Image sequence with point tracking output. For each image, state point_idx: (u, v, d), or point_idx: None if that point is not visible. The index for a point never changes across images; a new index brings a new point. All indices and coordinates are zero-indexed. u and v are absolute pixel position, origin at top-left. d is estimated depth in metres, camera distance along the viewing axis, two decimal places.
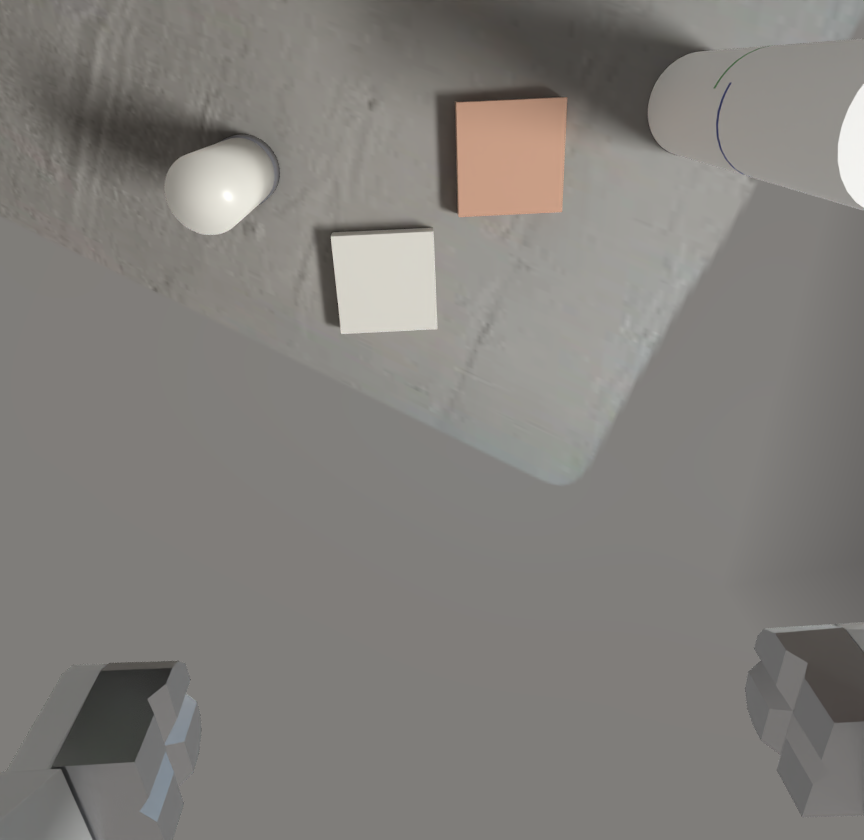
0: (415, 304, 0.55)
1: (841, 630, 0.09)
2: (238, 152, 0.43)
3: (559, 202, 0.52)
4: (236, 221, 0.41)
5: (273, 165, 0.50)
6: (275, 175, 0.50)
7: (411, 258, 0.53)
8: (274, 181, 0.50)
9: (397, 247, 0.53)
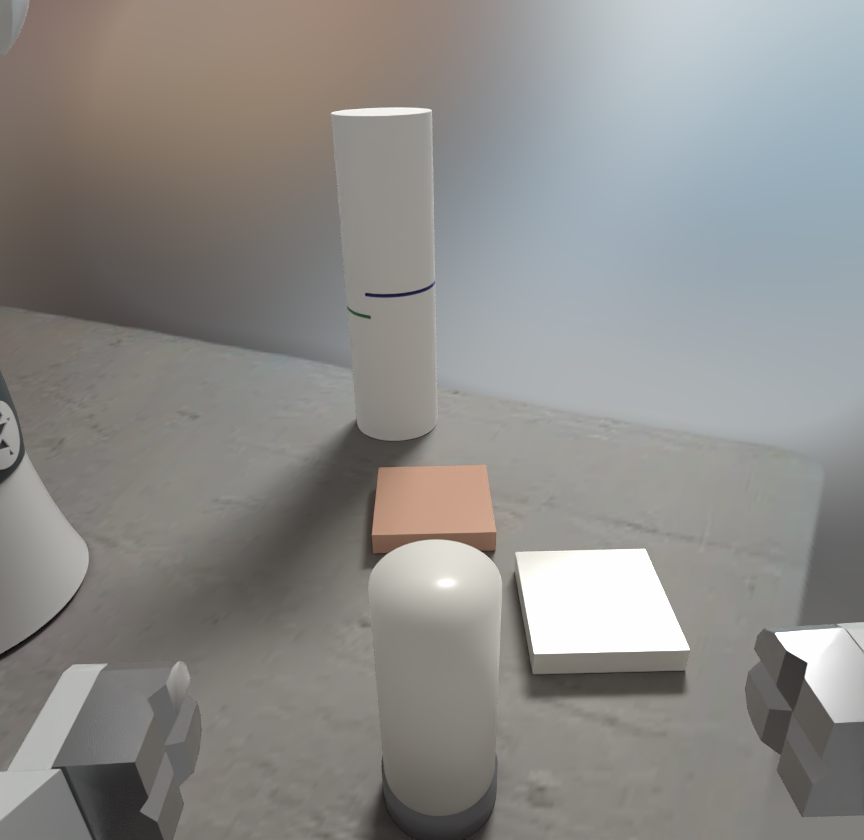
0: (616, 568, 0.40)
1: (841, 630, 0.09)
2: None
3: (476, 466, 0.50)
4: (477, 551, 0.26)
5: None
6: None
7: (553, 571, 0.40)
8: None
9: (540, 583, 0.39)
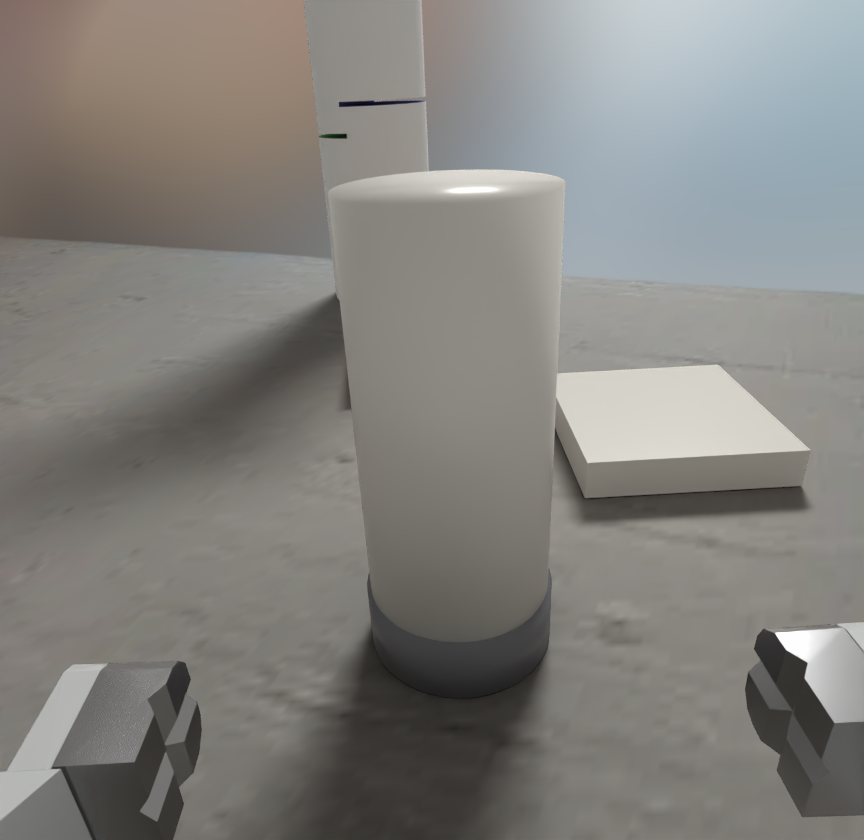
0: (684, 382, 0.30)
1: (841, 630, 0.09)
2: None
3: None
4: (515, 171, 0.15)
5: None
6: None
7: (599, 387, 0.29)
8: None
9: (583, 399, 0.29)
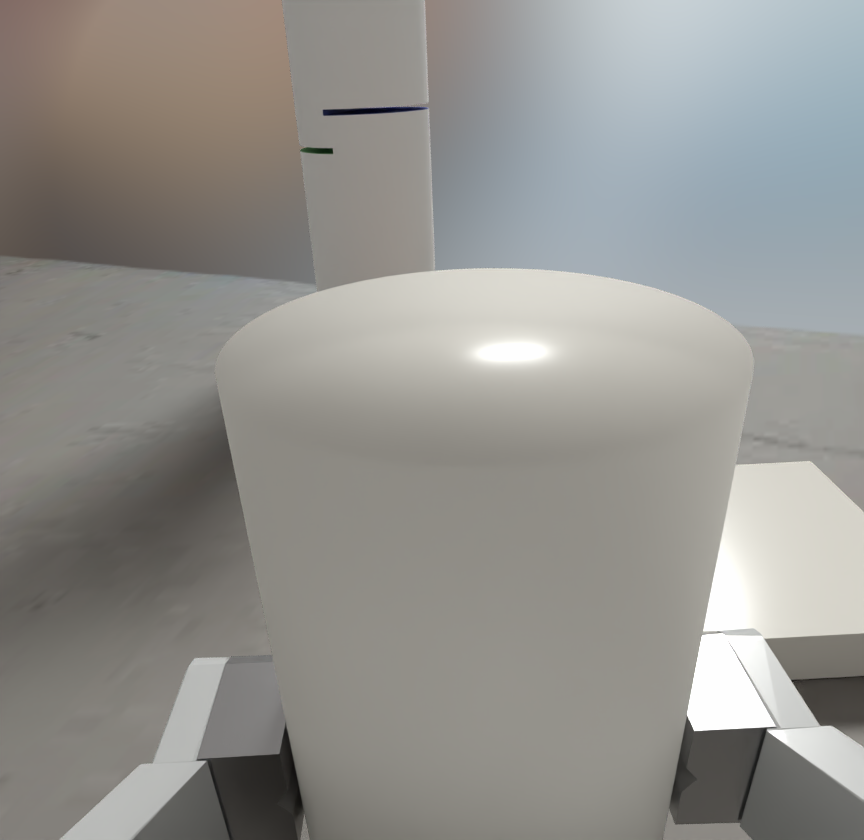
0: (772, 491, 0.22)
1: (720, 637, 0.09)
2: None
3: None
4: (607, 280, 0.08)
5: None
6: None
7: None
8: None
9: None
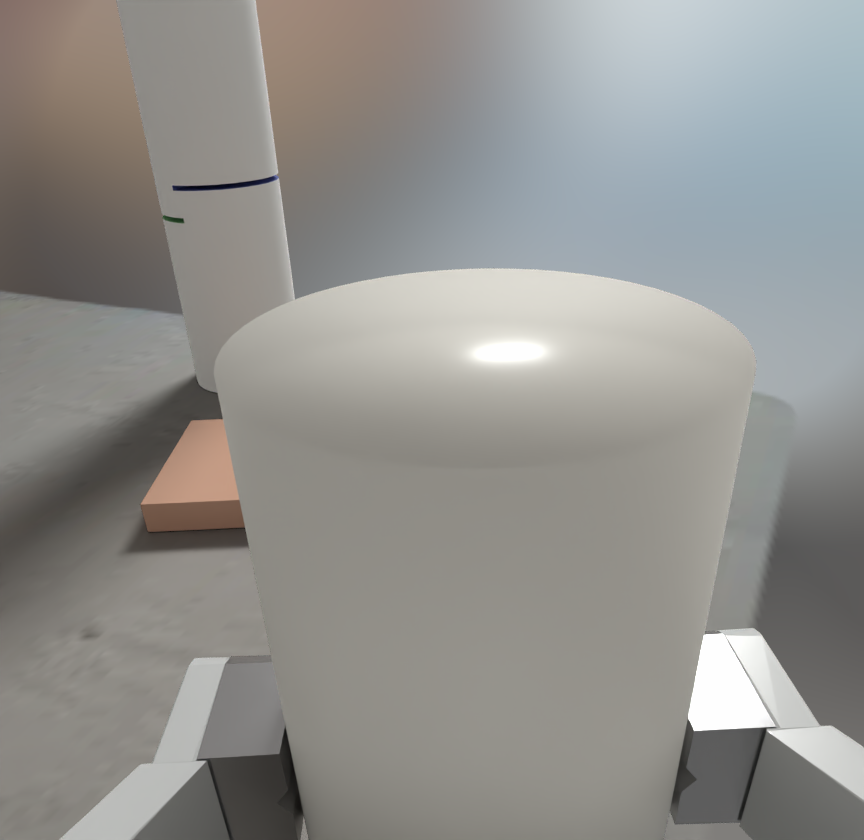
0: None
1: (720, 636, 0.09)
2: None
3: None
4: (608, 280, 0.08)
5: None
6: None
7: None
8: None
9: None
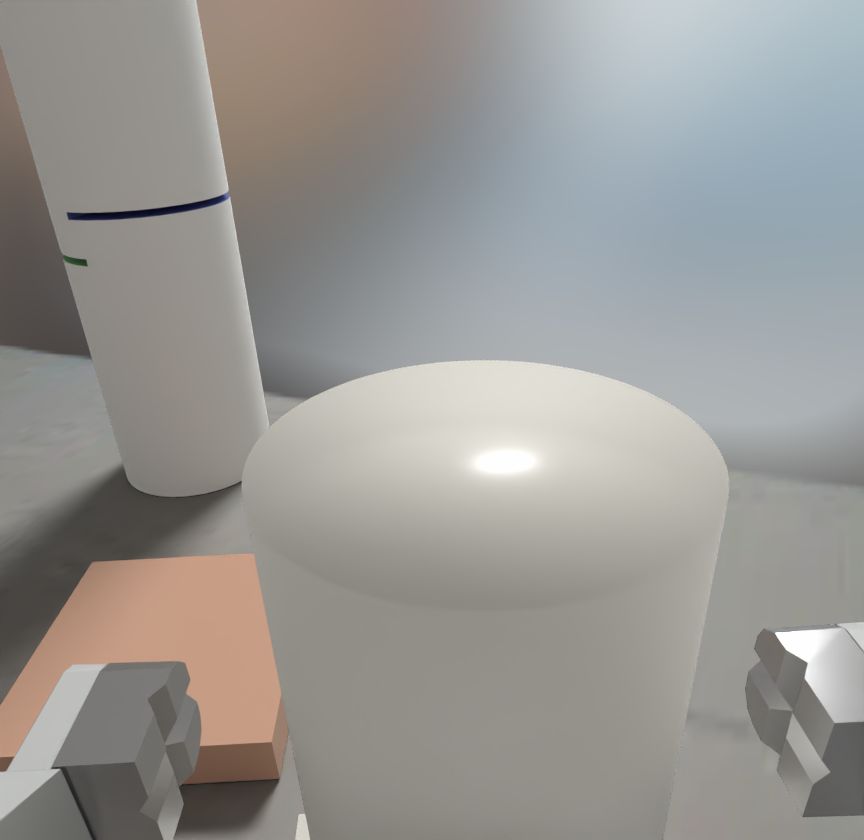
0: None
1: (841, 630, 0.09)
2: None
3: None
4: (599, 378, 0.08)
5: None
6: None
7: None
8: None
9: None
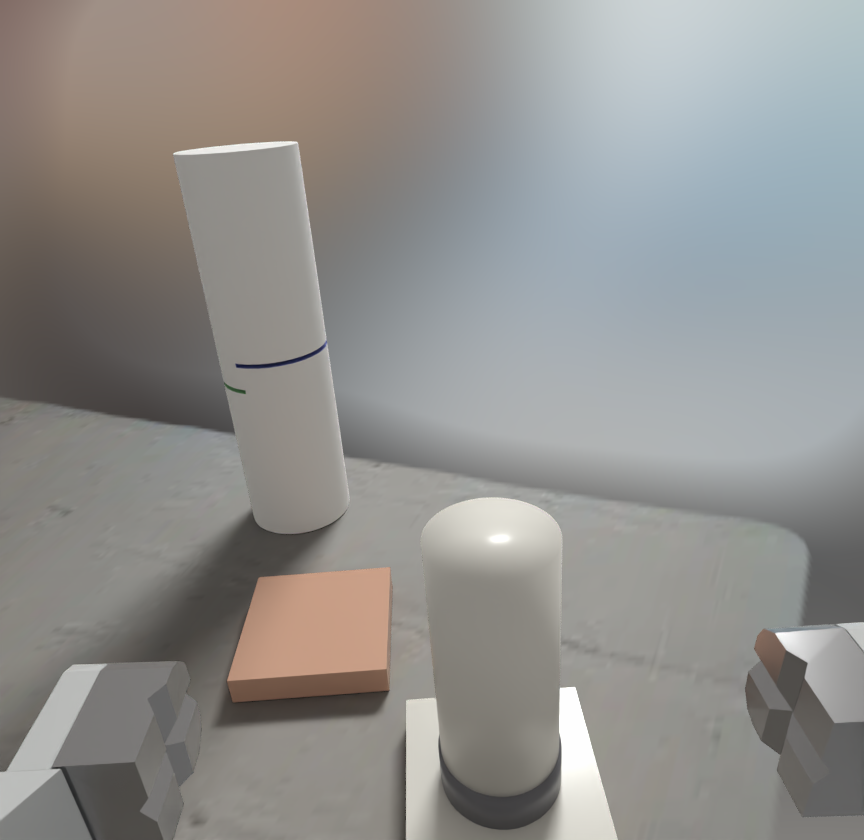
0: None
1: (841, 630, 0.09)
2: None
3: (378, 570, 0.41)
4: (531, 506, 0.24)
5: None
6: None
7: None
8: None
9: (431, 751, 0.29)
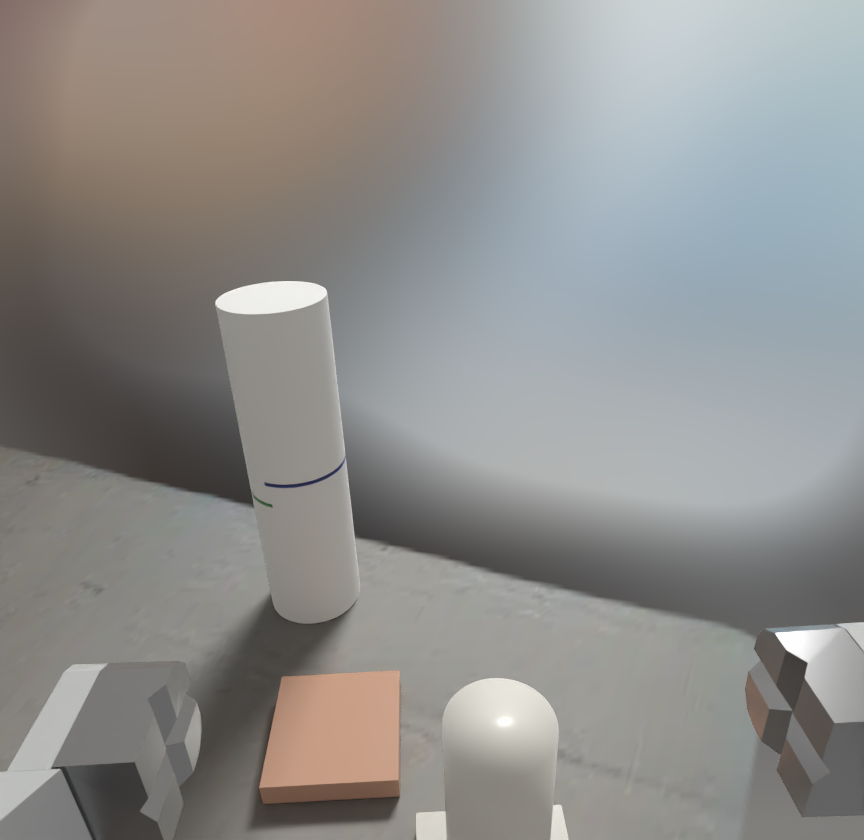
0: None
1: (841, 630, 0.09)
2: None
3: (388, 673, 0.46)
4: (533, 691, 0.29)
5: None
6: None
7: None
8: None
9: None
